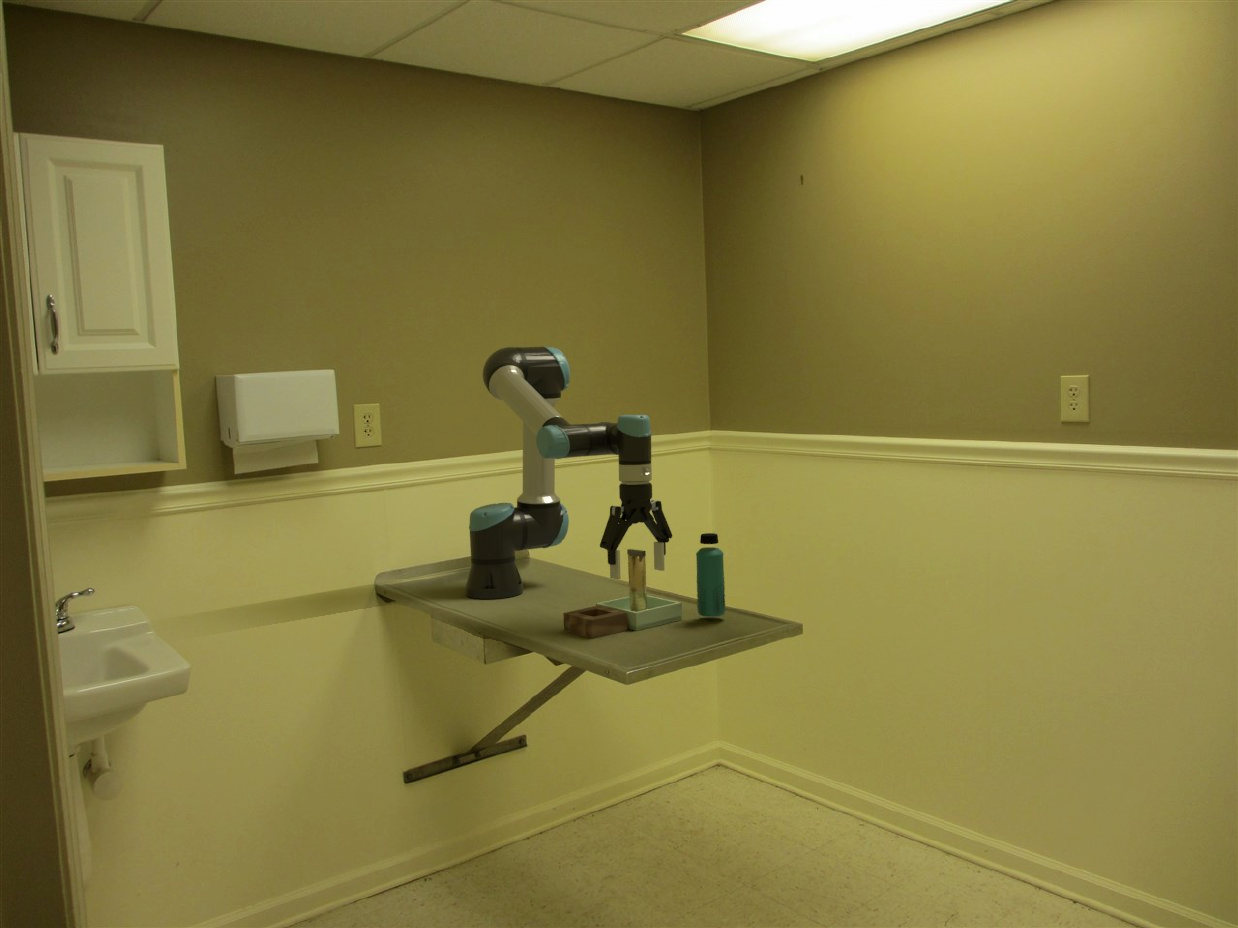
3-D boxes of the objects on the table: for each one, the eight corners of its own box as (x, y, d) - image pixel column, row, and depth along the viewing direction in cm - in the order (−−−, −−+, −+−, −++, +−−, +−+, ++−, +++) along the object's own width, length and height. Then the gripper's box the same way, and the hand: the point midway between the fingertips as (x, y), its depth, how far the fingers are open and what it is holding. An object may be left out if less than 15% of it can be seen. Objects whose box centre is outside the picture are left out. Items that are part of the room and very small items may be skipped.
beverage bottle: (728, 622, 226) (726, 535, 224) (699, 623, 225) (697, 536, 223) (722, 615, 232) (721, 530, 230) (694, 617, 232) (692, 532, 230)
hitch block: (564, 630, 222) (563, 612, 222) (598, 622, 229) (598, 605, 228) (592, 638, 215) (591, 620, 214) (627, 630, 221) (626, 612, 221)
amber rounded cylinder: (624, 615, 231) (622, 550, 230) (637, 612, 233) (635, 548, 233) (639, 618, 227) (637, 552, 226) (652, 615, 229) (650, 550, 229)
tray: (596, 620, 231) (595, 603, 231) (641, 610, 240) (640, 593, 240) (636, 630, 220) (636, 612, 220) (681, 619, 229) (681, 602, 229)
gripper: (604, 488, 217) (606, 584, 218) (686, 478, 233) (687, 568, 235) (582, 486, 222) (585, 580, 224) (663, 476, 239) (665, 564, 240)
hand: (637, 574), depth 229 cm, fingers open, 13 cm apart
